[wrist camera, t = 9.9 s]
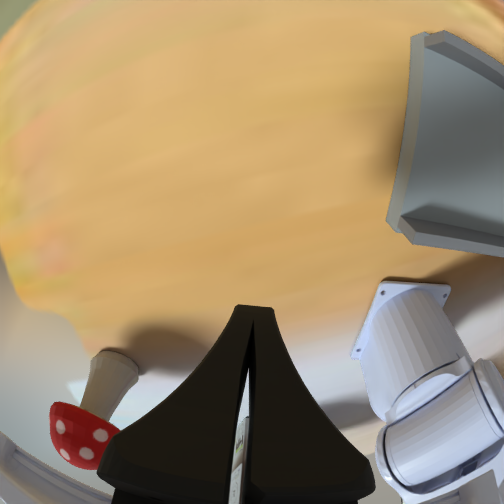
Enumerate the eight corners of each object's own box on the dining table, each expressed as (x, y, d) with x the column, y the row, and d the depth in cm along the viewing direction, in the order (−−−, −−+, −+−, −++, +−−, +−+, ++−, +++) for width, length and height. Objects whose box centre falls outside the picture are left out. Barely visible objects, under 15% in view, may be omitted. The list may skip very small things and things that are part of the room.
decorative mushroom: (136, 341, 27) (84, 463, 14) (163, 387, 31) (132, 491, 18) (73, 336, 28) (18, 430, 15) (103, 379, 32) (65, 465, 19)
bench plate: (515, 244, 18) (540, 267, 14) (385, 220, 19) (410, 249, 15) (543, 115, 12) (574, 125, 8) (410, 37, 12) (444, 24, 8)
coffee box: (233, 431, 36) (221, 524, 22) (245, 415, 33) (234, 523, 19) (289, 440, 37) (287, 528, 23) (307, 425, 34) (309, 525, 20)
